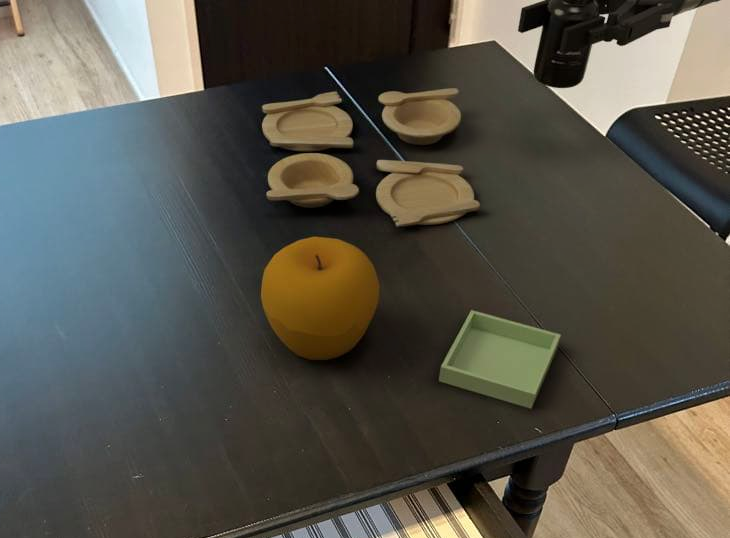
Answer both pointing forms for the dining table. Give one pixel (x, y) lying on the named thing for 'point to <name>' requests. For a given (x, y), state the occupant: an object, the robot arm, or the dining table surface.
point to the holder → (500, 358)
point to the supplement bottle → (553, 68)
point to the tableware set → (396, 191)
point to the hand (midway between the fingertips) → (542, 30)
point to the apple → (320, 296)
